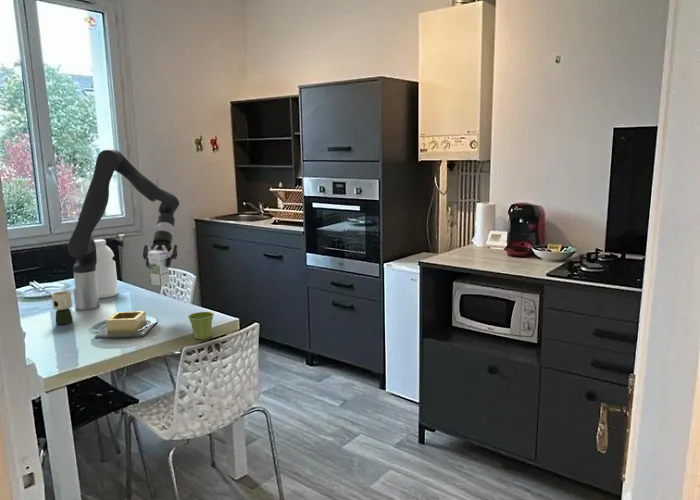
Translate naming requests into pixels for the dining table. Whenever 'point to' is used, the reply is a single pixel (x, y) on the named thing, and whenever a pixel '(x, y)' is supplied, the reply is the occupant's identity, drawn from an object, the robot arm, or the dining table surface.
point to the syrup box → (158, 268)
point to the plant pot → (201, 324)
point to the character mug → (62, 306)
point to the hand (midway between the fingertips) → (157, 266)
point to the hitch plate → (125, 325)
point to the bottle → (105, 270)
